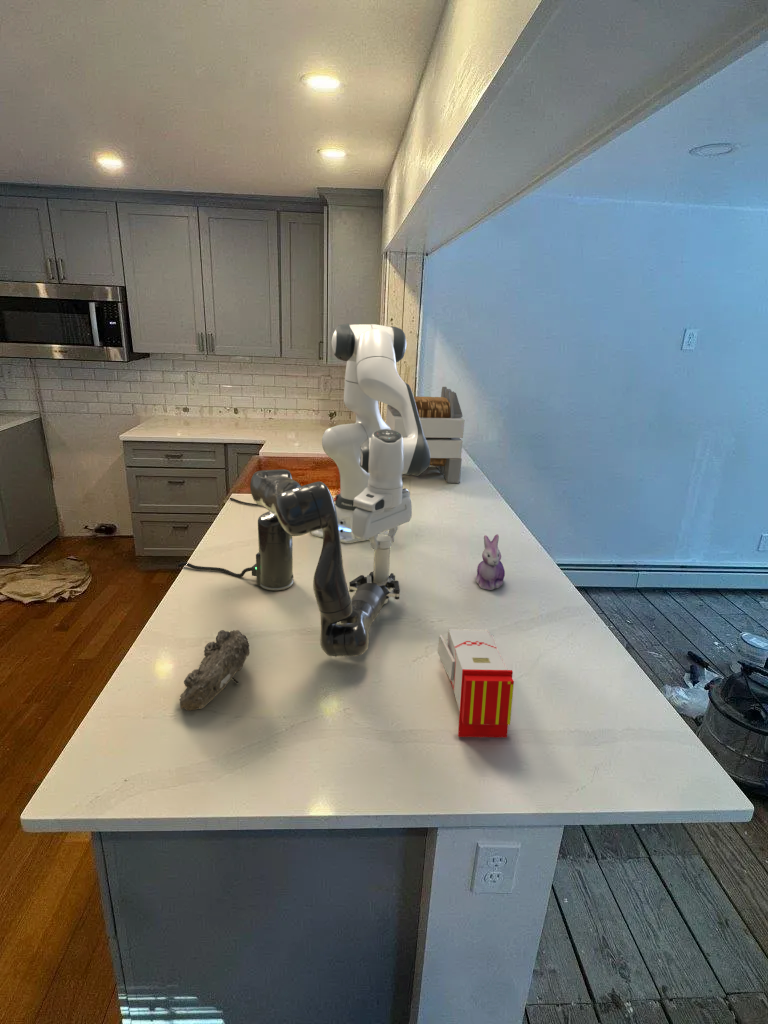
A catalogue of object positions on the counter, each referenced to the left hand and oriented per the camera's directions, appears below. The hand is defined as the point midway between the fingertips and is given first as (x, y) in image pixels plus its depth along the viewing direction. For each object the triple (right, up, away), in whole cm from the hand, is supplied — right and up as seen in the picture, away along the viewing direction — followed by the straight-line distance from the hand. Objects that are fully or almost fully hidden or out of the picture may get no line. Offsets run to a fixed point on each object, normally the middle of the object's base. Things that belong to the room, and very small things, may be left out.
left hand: (383, 575), depth 154 cm
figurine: (+31, -4, +12) cm, 34 cm away
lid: (0, +10, -6) cm, 12 cm away
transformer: (+17, +36, +121) cm, 127 cm away
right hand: (0, +8, -6) cm, 10 cm away
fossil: (-34, -18, -36) cm, 53 cm away
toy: (+18, -20, -35) cm, 45 cm away
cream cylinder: (-1, -7, 0) cm, 7 cm away
